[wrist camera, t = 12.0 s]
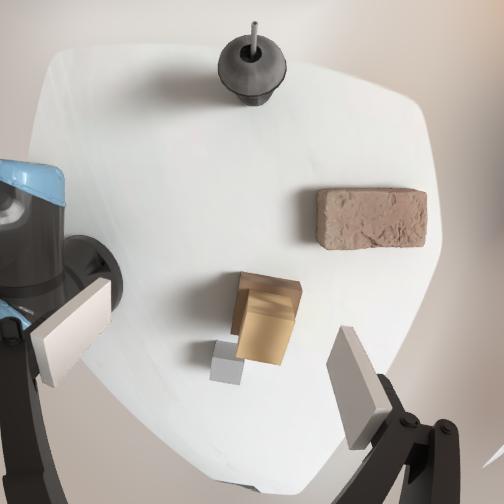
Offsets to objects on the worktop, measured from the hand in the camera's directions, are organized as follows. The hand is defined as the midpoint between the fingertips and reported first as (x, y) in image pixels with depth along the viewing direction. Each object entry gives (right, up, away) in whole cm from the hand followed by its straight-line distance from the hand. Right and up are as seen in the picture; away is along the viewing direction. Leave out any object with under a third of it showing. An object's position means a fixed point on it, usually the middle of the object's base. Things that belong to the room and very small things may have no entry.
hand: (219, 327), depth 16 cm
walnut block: (+4, -4, +31) cm, 32 cm away
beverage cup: (+2, +27, +22) cm, 35 cm away
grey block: (-2, -14, +34) cm, 37 cm away
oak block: (+4, -5, +27) cm, 28 cm away
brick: (+19, +10, +27) cm, 35 cm away
